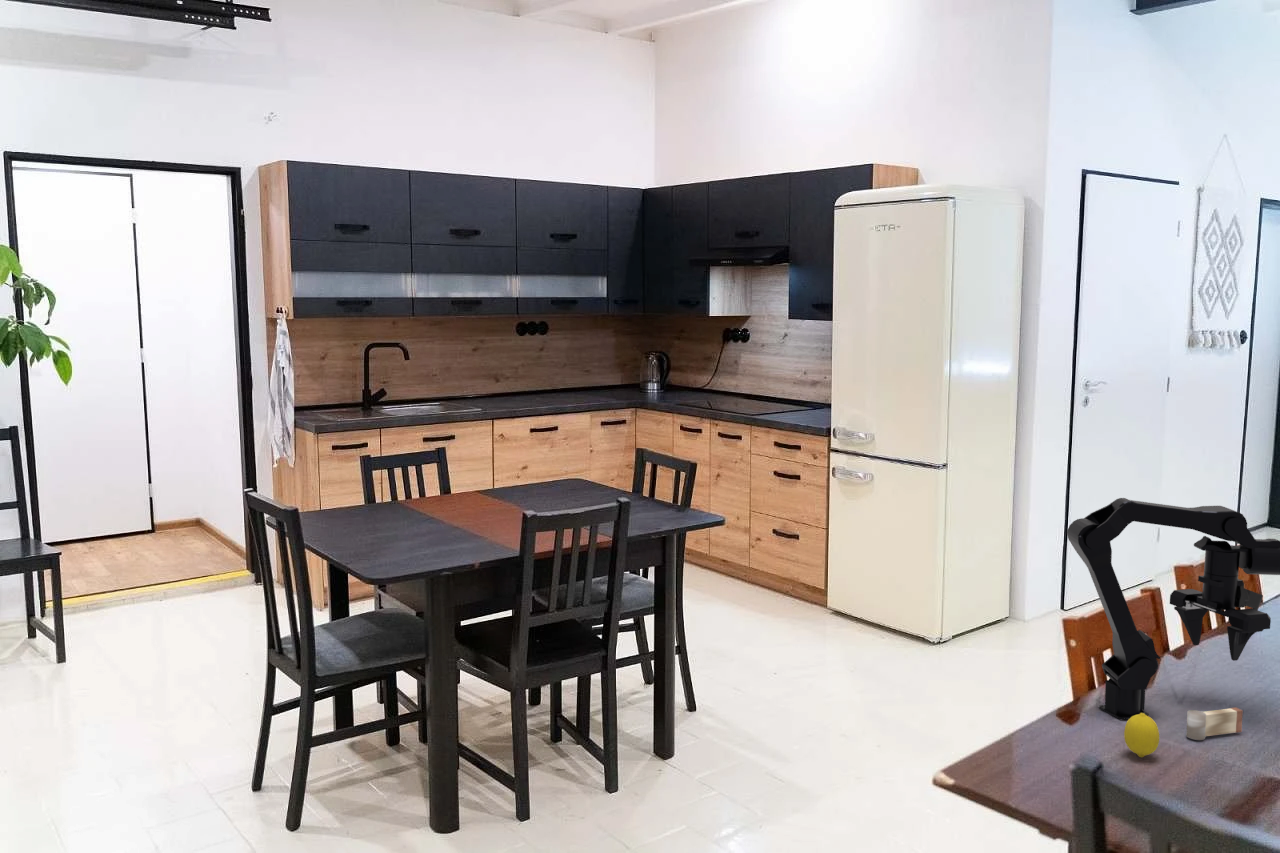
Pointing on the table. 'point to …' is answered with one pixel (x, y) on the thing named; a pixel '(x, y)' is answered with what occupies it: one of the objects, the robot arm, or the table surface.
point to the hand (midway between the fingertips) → (1214, 652)
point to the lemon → (1141, 734)
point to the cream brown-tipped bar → (1213, 722)
